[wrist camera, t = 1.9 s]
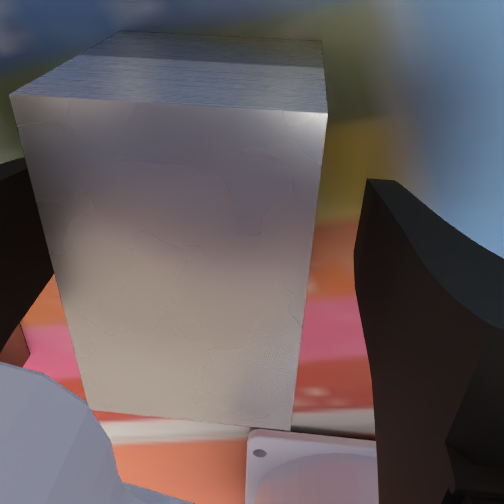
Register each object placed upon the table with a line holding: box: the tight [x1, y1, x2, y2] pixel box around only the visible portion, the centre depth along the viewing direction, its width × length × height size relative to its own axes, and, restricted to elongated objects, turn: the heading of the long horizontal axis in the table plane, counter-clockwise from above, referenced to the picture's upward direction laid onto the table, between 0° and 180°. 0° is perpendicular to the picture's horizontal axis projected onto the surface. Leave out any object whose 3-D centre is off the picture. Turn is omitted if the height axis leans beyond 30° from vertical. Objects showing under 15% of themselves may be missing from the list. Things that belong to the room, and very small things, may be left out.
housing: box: [9, 31, 328, 431], centre depth 11 cm, size 7×4×5 cm, turn 178°
